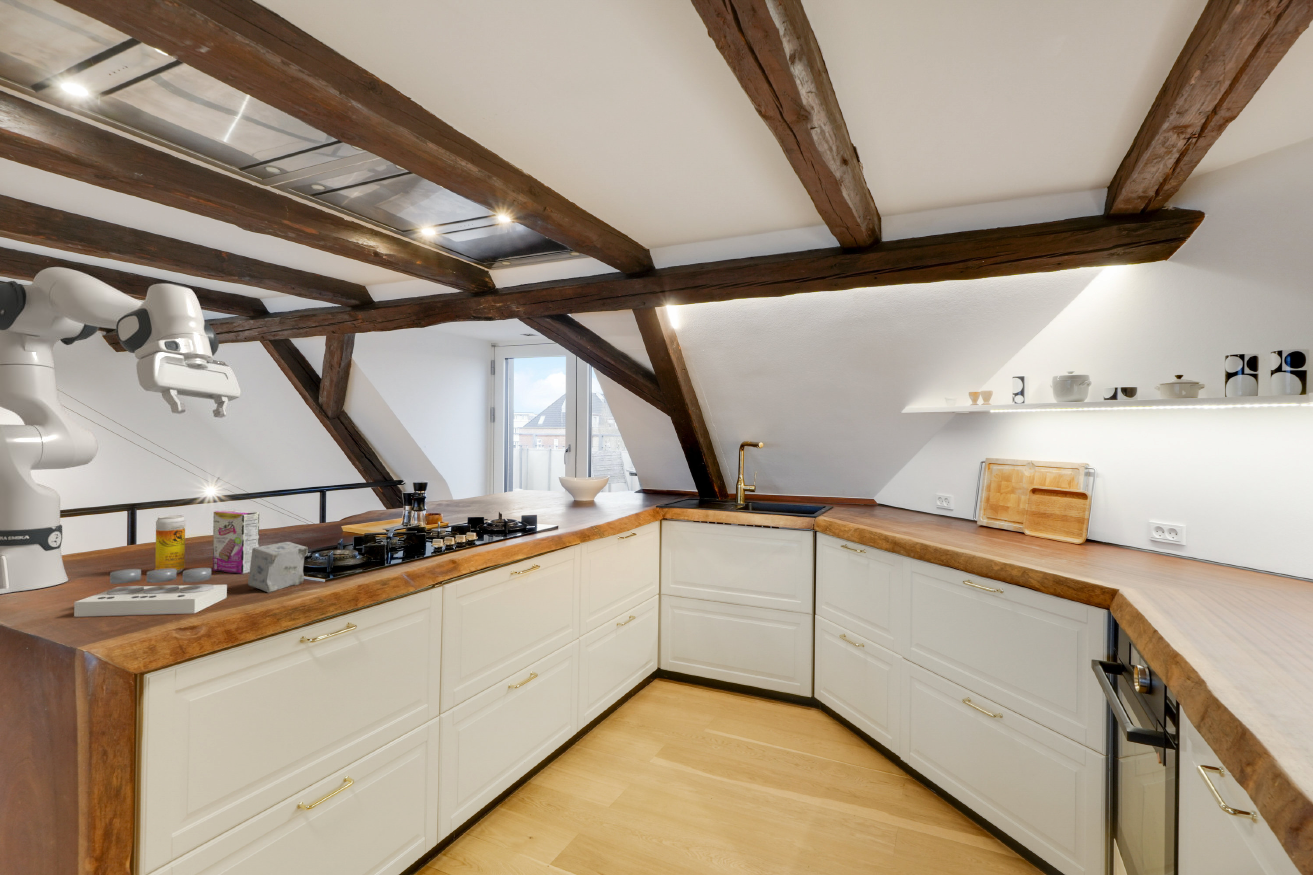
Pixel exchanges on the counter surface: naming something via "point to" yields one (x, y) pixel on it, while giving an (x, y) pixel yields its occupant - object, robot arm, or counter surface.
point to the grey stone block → (277, 566)
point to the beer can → (170, 542)
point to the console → (150, 600)
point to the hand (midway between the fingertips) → (200, 414)
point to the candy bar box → (234, 540)
